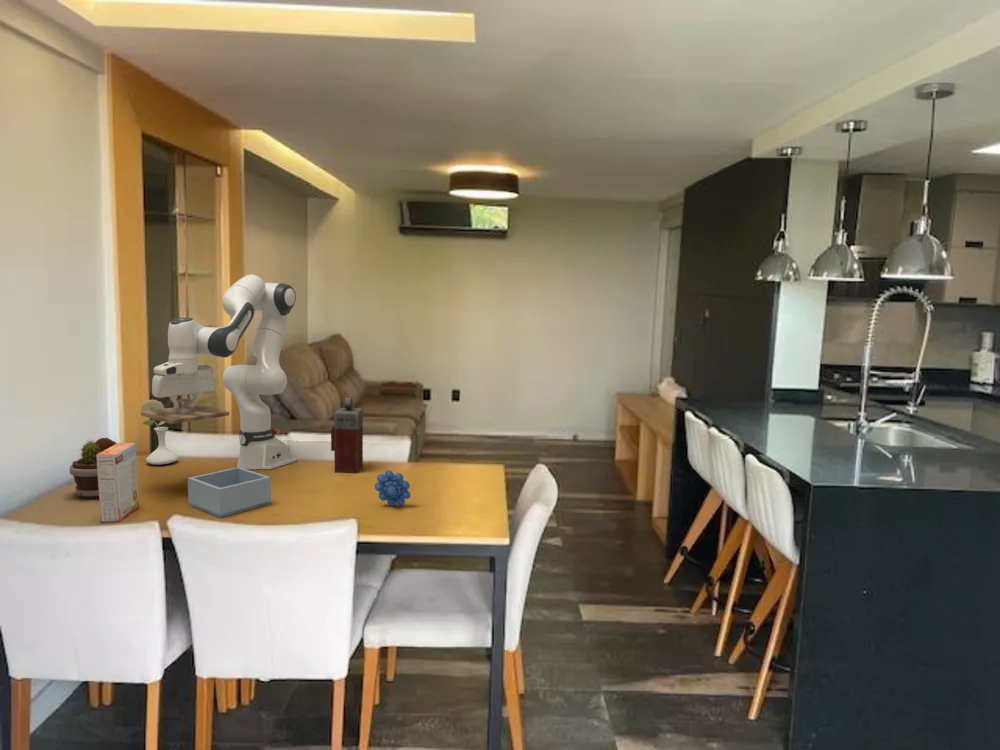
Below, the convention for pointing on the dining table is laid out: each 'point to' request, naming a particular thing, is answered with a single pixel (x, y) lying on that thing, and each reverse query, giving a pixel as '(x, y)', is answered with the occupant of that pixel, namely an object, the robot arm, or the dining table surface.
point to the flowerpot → (86, 472)
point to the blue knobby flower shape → (392, 488)
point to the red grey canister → (348, 438)
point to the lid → (184, 413)
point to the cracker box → (117, 482)
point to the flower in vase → (162, 452)
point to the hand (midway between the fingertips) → (185, 407)
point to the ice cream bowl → (104, 444)
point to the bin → (229, 491)
